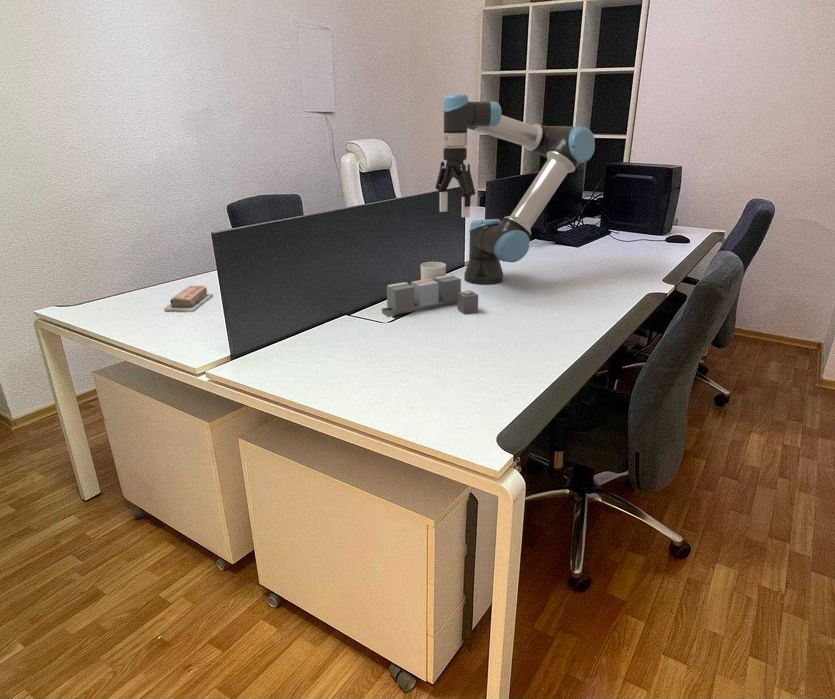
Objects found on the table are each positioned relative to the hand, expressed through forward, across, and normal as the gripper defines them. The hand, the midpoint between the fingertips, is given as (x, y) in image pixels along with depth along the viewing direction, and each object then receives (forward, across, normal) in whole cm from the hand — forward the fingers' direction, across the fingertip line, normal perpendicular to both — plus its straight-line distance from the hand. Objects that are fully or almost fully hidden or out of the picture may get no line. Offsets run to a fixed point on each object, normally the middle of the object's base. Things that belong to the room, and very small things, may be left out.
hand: (454, 214), depth 189 cm
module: (+27, +6, -15) cm, 31 cm away
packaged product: (+29, -41, -83) cm, 97 cm away
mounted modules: (+27, +5, -15) cm, 31 cm away
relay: (+29, +16, -5) cm, 34 cm away
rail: (+29, +6, -15) cm, 33 cm away
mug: (+29, -6, -5) cm, 30 cm away
